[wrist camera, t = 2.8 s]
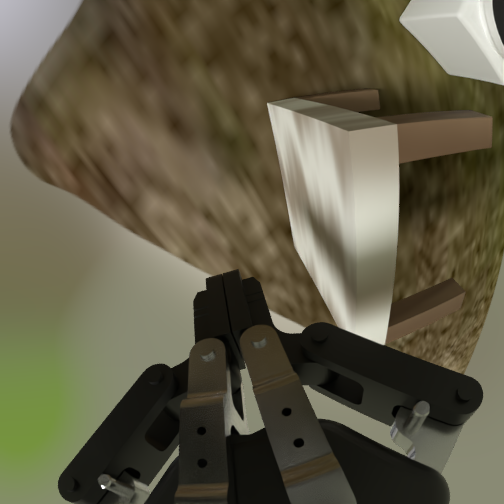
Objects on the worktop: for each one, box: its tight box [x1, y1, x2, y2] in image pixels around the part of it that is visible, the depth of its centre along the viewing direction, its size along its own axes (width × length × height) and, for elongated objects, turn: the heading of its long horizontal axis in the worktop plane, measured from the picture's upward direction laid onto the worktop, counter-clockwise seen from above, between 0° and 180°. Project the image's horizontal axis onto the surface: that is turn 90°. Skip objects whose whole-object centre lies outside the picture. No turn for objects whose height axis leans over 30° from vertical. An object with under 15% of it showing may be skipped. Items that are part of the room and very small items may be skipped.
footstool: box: [267, 88, 492, 345], centre depth 17 cm, size 12×8×12 cm, turn 13°
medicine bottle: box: [399, 0, 504, 85], centre depth 11 cm, size 7×7×12 cm
